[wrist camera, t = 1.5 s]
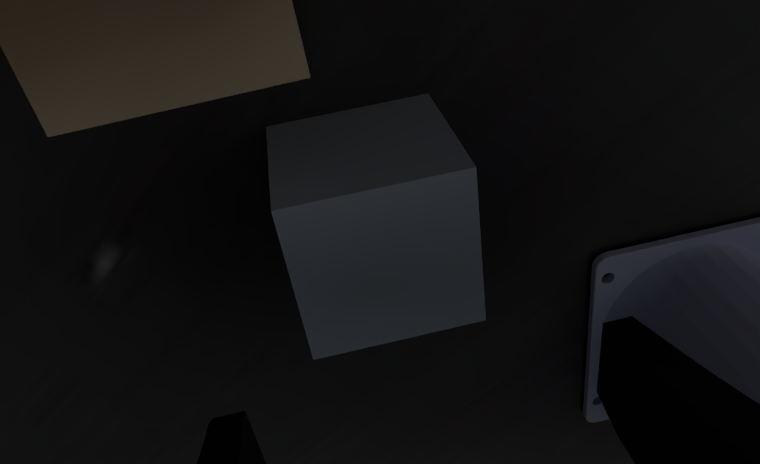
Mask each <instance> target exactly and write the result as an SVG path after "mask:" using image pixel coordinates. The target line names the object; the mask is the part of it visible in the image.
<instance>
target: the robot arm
mask: <svg viewBox="0 0 760 464" xmlns="http://www.w3.org/2000/svg"><path fill="white" fill-rule="evenodd" d="M607 273H609V274H608V275H607V276H605V277H603V276H604V275H605V274H607ZM602 277H603V278H602ZM583 415H584V417H585V418H586V420H587V421H588V422H592V423H594V422H599V421H603V420H607V419H609V420H610V422H611V424H612V425H613V427H614V429H615V431H616V433H617V435H618V437H619V439H620V440H621V442H622V443H623V445H624V447H625V448H626V450H627V451H628V453H629V455H630V456H631V458H632V459H633V461H634V462H635V464H760V217H758V218H754V219H749V220H745V221H740V222H736V223H732V224H727V225H723V226H718V227H714V228H710V229H705V230H701V231H696V232H692V233H688V234H683V235H679V236H674V237H670V238H666V239H661V240H657V241H652V242H648V243H644V244H639V245H635V246H630V247H626V248H622V249H617V250H613V251H608V252H605V253H602V254H600V255H599V256H597V257H596V258H595V260H594V261H593V264H592V273H591V289H590V306H589V322H588V338H587V354H586V370H585V387H584V403H583ZM197 464H266V462H265V460H264V458H263V455H262V453H261V450H260V448H259V445H258V443H257V440H256V438H255V435H254V433H253V430H252V428H251V425H250V423H249V420H248V418H247V415H246V413H245V411H242V412H238V413H233V414H229V415H225V416H221V417H217V418H213V419H212V420H211V422H210V423H209V425H208V429H207V432H206V436H205V440H204V443H203V446H202V450H201V453H200V456H199V459H198V462H197Z"/></svg>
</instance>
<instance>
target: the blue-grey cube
mask: <svg viewBox="0 0 760 464" xmlns="http://www.w3.org/2000/svg"><path fill="white" fill-rule="evenodd" d="M266 135H267V152H268V169H269V187H270V204H271V213H272V217H273V220H274V224H275V227H276V230H277V234H278V237H279V241H280V244H281V248H282V251H283V255H284V258H285V262H286V265H287V269H288V272H289V276H290V279H291V283H292V286H293V290H294V293H295V297H296V300H297V304H298V307H299V311H300V314H301V318H302V321H303V325H304V328H305V332H306V335H307V339H308V342H309V346H310V349H311V353H312V356H313V360H315V359H319V358H324V357H328V356H332V355H337V354H341V353H345V352H350V351H354V350H358V349H363V348H367V347H371V346H376V345H380V344H384V343H389V342H393V341H398V340H402V339H406V338H411V337H415V336H419V335H424V334H428V333H432V332H437V331H441V330H445V329H450V328H454V327H458V326H463V325H467V324H471V323H476V322H480V321H484V320H486V314H485V298H484V282H483V266H482V250H481V234H480V218H479V202H478V186H477V170H476V166H475V164H474V163H473V161H472V160H471V158H470V157H469V155H468V154H467V152H466V151H465V149H464V148H463V146H462V144H461V143H460V141H459V140H458V138H457V137H456V135H455V134H454V132H453V131H452V129H451V128H450V126H449V125H448V123H447V122H446V120H445V118H444V117H443V115H442V114H441V112H440V111H439V109H438V108H437V106H436V105H435V103H434V102H433V100H432V99H431V97H430V96H429V94H428V93H427V94H423V95H418V96H413V97H408V98H403V99H398V100H393V101H389V102H384V103H379V104H374V105H369V106H364V107H359V108H355V109H350V110H345V111H340V112H335V113H330V114H325V115H320V116H316V117H311V118H306V119H301V120H296V121H291V122H286V123H282V124H277V125H272V126H267V127H266Z"/></svg>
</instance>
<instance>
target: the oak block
mask: <svg viewBox="0 0 760 464" xmlns="http://www.w3.org/2000/svg"><path fill="white" fill-rule="evenodd" d="M0 46H1V48H2V50H3V52H4V54H5V56H6V57H7V59H8V61H9V63H10V65H11V67H12V69H13V71H14V73H15V75H16V77H17V79H18V81H19V82H20V84H21V86H22V88H23V90H24V92H25V94H26V96H27V98H28V100H29V102H30V104H31V106H32V108H33V109H34V111H35V113H36V115H37V117H38V119H39V121H40V123H41V125H42V127H43V129H44V131H45V133H46V135H47V136H48V137H51V136H56V135H60V134H64V133H69V132H73V131H78V130H82V129H86V128H91V127H95V126H100V125H104V124H109V123H113V122H117V121H122V120H126V119H131V118H135V117H139V116H144V115H148V114H153V113H157V112H161V111H166V110H170V109H175V108H179V107H183V106H188V105H192V104H197V103H201V102H205V101H210V100H214V99H219V98H223V97H227V96H232V95H236V94H241V93H245V92H249V91H254V90H258V89H263V88H267V87H271V86H276V85H280V84H285V83H289V82H293V81H298V80H302V79H307V78H311V77H310V73H309V69H308V65H307V61H306V57H305V53H304V48H303V44H302V40H301V36H300V32H299V28H298V24H297V19H296V15H295V11H294V7H293V3H292V0H0Z"/></svg>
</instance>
